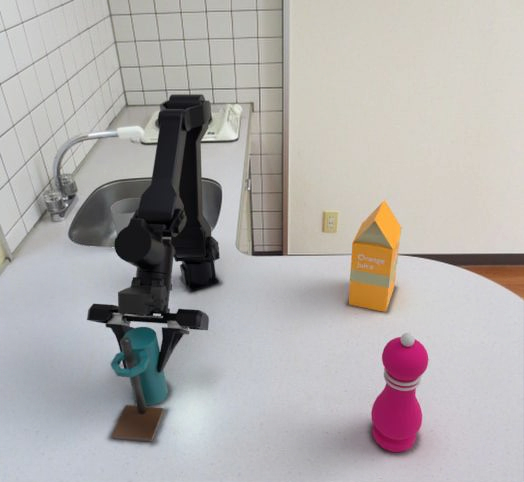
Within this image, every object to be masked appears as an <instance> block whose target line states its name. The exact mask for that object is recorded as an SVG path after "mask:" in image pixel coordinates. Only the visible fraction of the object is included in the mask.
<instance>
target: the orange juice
mask: <svg viewBox="0 0 524 482" xmlns="http://www.w3.org/2000/svg"><path fill="white" fill-rule="evenodd" d="M397 219H398V218H396V216H395V215H394V213H393V211H392V210H391V208H390V206H389V204H388V203H387V202H386V200H385V199H383V201H382V202H381V203H380V204H379V205H378V206H377V207H376V208H375V209H374V210H373V211H372V212H371V213H370V215H368V217H367V218H365V220H364V221H362V223H361V224H360V227H359V228H358V231H357V232H356V235H355V237H354V239H353V241H352V244H351V260H350V261H351V263H350V274H349V293H348V294H349V295H348V305H349V306H354V307H360V308H364V309H369V310H374V311H379V312H384V313H386V312H387V310H388V307H389V305H390V301H391V298H392V295H393V292H394V289H395V283H396V277H397V275H396V274H397V265H398V260H399V250H400V241H401V233H402V230H403V227H402V226H401V224H400V223H399V221H398V220H397Z"/></svg>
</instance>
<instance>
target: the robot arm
mask: <svg viewBox="0 0 524 482" xmlns="http://www.w3.org/2000/svg"><path fill="white" fill-rule="evenodd" d="M211 115H212V105H211V102H210V100H206V98H205V95H204V94H201V93H200V94H199V93H197V94H196V93H195V94H193V93H191V94H190V93H189V94H188V93H187V94H185V93H183V94H181V93H179V94H175V93H173V94H170V95H169V98H168V100H164V101H163V102H161V103H160V104H159V112H158V115H157V123H158V128H159V129H158V136H157V142H156V149H155V156H154V162H153V168H152V175H151V180H150V184H149V186H147V188H146V189H145V190H144V191H143V192H142V193H141V195H140V198H139V199H140V203H139V207H138V208H137V210H136V212H135V213H134V215H133V217H132V218H131V219H130V223H129V224H128V226H127V227H125V228H124V229H123V230H121V231H120V233H119V234H118V235H117V234H116V238H114V246H113V247H114V251H115V253H116V255H117V256H118V258H120V260H122V261H124V262H126V263H128V264H129V265H132V266H134V268H136V271H135V272H136V273H135V277H134V276H133V277H132V279H131V284H130V287H126V288H124V289H122V290H119V291H118V292H117V305H115V304H107V303H92V305H91V306H90V307H89V308H88V310H87V316H86V321H89V322H95V323H99V324H104V325H105V328H108V329H111V331H112V333H113V334H114V335H115V336H114V337H115V338H116V341H117V345H118V349H119V353H120V352H122V347H121V343H120V341H121V339H122V338H123V337H124V335H125V334H126V333H127V332H128V331H130V330H132V329H134V328H135V327H133V326H131V322H133V323H147V324H149V323H151V324H164V325H166V327H163V326H162V327H161V337H162V339H161V340H162V341H161V345H160V348H159V350H160V355H159V360H158V373H162V371H163V369H165V368H166V366H167V364H168V362H169V360H170V357H171V356H172V354H173V352H174V350H175V348H176V347H177V345H178V344H179V342H180V341H181V340H182V338H183V336H184V335H189V334H190V331H189V330H195V331H196V330H198V331H209V323H210V317H209V315H208V314H207V313H206V312H205V311H202V310H200V309H191V308H190V309H189V308H178V309H177V311H176V312H171V308H169V303H170V293H171V291H173V284H172V276H173V275H172V274H173V265H174V261H175V262H177V263H178V262H181V264H179V268H180V275H181V280H182V282H183V284H184V285H185V286H186V287H188V289H189V290H190V292H197V291H200V290H202V289H205V288H209V287H213V286H216V285H218V284H219V283H220V280H219V279H218V278H217V276H216V267H215V266H216V265H215V263H216V261H217V260H220V247H219V242H218V241H217V239H216V238H214V237H213V236H212V226H211V225H210V224H209V222H208V220H207V219H206V217H205V216H204V211H203V209H204V208H203V177H202V173H203V172H202V140H203V138H204V137H205V135H206V133H207V131H208V130H209V120H210V119H211V117H212V116H211ZM121 363H122V365H123V366H122V367H123V368H125V369H127V366H126V362H125V359H123V360H122V361H121Z"/></svg>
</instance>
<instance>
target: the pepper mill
mask: <svg viewBox="0 0 524 482" xmlns="http://www.w3.org/2000/svg"><path fill="white" fill-rule="evenodd" d="M381 362H382V365H383V379H384V381H385V386H384V388H383V390H382V391H381V392H380V393H379V394H378V395H377V397H376V398H375V400H374V402H373V404H372V407H371V411H370V412H371V413H370V415H371V416H370V417H371V421H372V424H373V425H372V436H373V439H374V441H375V442H376V444H377V445H379V447H381V448H382V449H384V450H386V451H389V452H392V453H402V452H406V451H408V450H409V449H411V448H412V447H413V446H414V444H415V441H416V437H417V434H418V432H419V431H420V429H421V427H422V425H423V424H422V423H423V412H422V407H421V405H420V402H419V401H418V398H417V396H416V391H417V388H418V387H419V386H420V385H421V382H422V377H423V374H425V372H426V371H427V368H428V366H429V354H428V351H427V349H426V347H425V346H424V344H422V343H421V342H420V341H419V340H417V338H416V339H415V337H414V335H413V334H412V333H409V332H405V333H403V334H401V336H397V337H395V338H392V339H390V340H389V341H388V342H387V343H386V345H384V348H383V350H382V353H381Z"/></svg>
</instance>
